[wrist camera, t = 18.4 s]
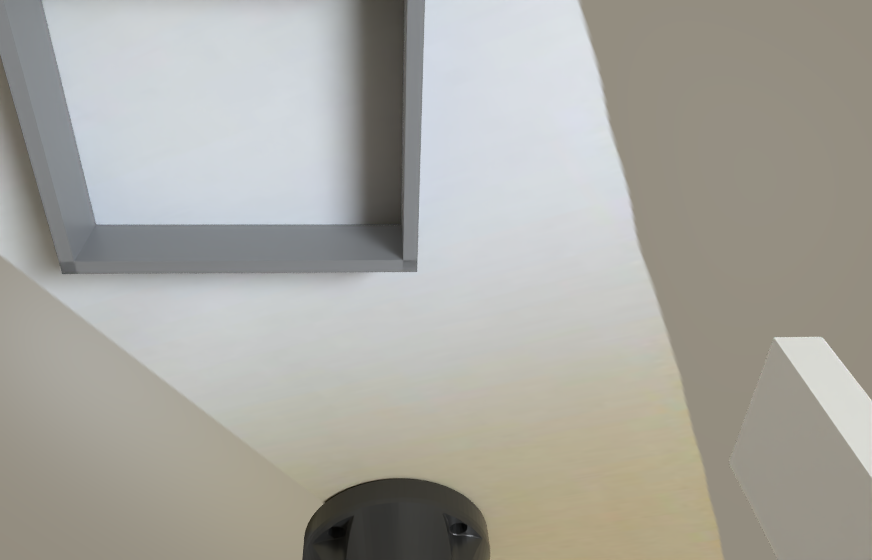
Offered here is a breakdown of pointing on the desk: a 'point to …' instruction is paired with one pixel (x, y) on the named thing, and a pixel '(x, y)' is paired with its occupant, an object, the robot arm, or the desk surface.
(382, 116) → the desk surface
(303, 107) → the desk surface
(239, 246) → the parts bin
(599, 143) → the desk surface
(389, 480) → the robot arm
